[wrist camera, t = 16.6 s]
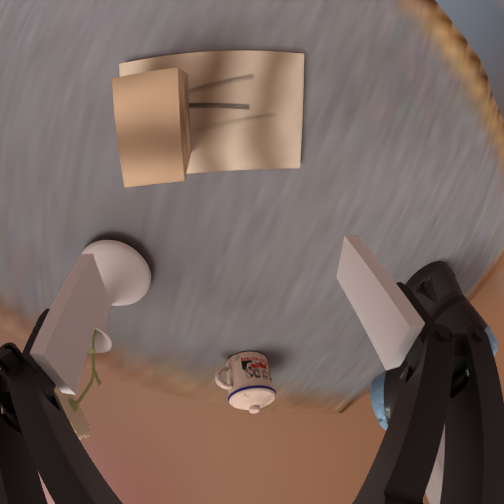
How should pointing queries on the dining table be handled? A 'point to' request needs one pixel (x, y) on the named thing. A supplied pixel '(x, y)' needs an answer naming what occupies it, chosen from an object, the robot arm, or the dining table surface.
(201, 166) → the board
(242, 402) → the teacup with lid
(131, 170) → the block
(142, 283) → the flower in vase
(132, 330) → the dining table surface
